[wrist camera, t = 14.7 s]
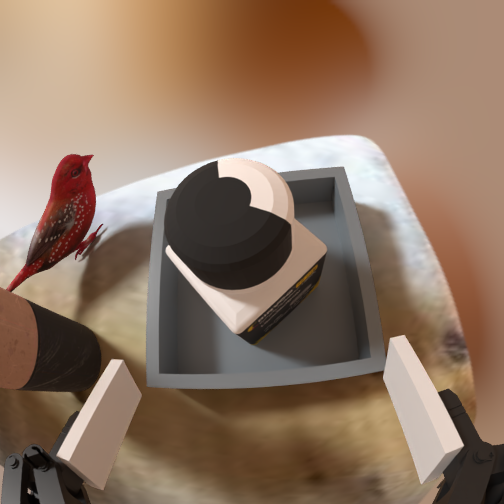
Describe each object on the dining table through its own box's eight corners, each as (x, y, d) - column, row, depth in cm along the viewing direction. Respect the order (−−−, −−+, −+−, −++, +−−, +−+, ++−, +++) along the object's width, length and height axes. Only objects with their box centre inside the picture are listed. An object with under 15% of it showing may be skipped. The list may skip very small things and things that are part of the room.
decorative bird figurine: (135, 203, 30) (87, 143, 21) (43, 323, 25) (-24, 295, 16) (122, 193, 31) (76, 136, 22) (34, 307, 26) (-28, 277, 17)
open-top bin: (172, 386, 21) (146, 386, 17) (175, 217, 28) (157, 191, 24) (369, 370, 20) (387, 369, 16) (338, 196, 26) (343, 166, 22)
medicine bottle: (253, 347, 21) (209, 318, 10) (196, 283, 24) (122, 206, 13) (320, 284, 22) (342, 197, 11) (259, 228, 25) (232, 122, 14)
